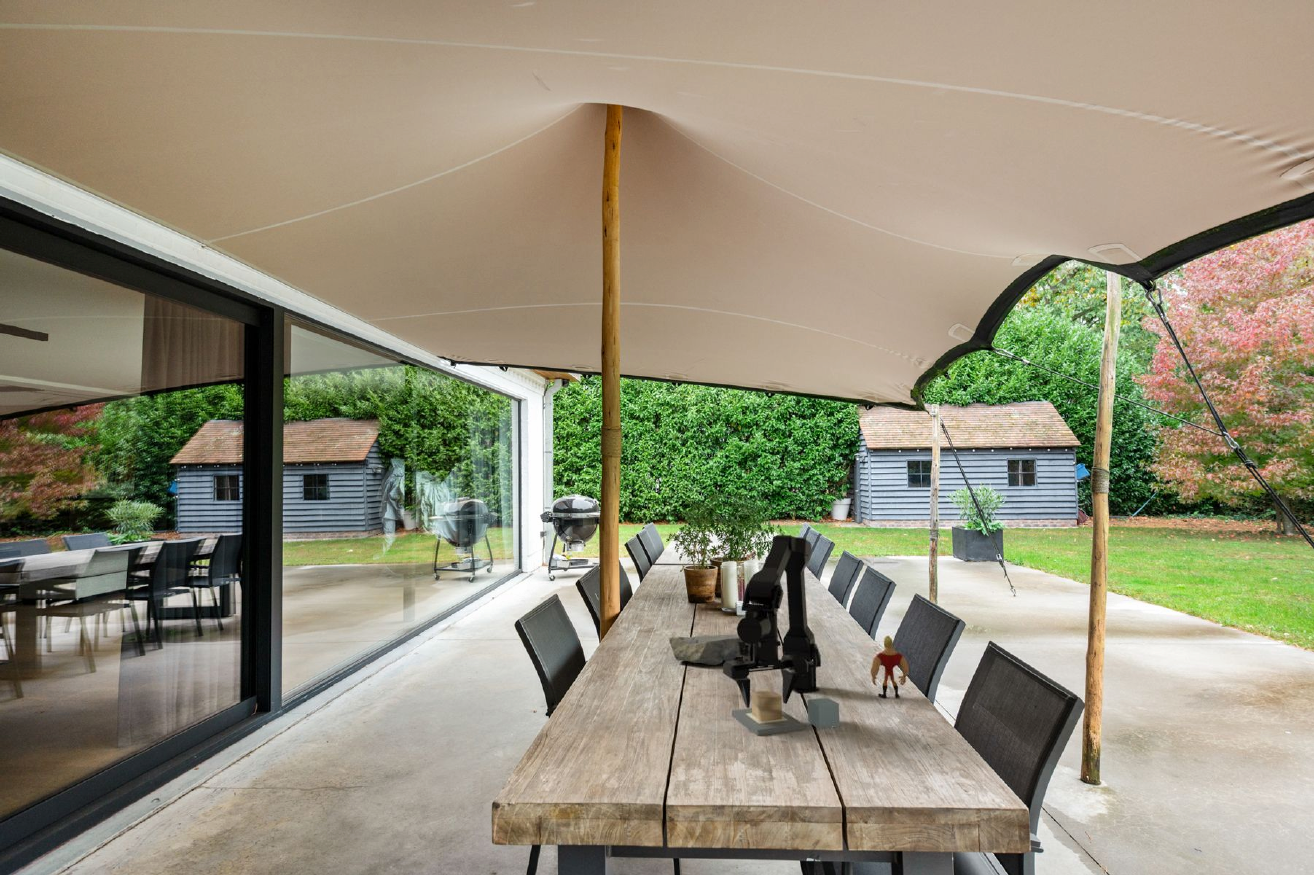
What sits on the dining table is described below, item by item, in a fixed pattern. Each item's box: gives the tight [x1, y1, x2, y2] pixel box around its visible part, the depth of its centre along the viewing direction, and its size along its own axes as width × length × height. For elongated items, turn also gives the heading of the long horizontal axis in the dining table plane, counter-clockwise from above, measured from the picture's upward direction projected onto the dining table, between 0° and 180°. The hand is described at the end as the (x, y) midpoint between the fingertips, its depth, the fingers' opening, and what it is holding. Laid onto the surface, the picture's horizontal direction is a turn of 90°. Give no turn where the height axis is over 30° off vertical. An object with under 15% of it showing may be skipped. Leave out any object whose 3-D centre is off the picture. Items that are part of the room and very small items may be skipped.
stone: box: [668, 633, 749, 666], centre depth 226 cm, size 24×8×25 cm
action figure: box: [870, 635, 910, 699], centre depth 184 cm, size 10×4×15 cm, turn 91°
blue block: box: [806, 697, 840, 730], centre depth 164 cm, size 5×5×5 cm
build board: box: [731, 707, 805, 736], centre depth 165 cm, size 11×14×1 cm
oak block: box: [751, 689, 783, 721], centre depth 165 cm, size 5×5×5 cm
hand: (766, 705), depth 165 cm, fingers open, 9 cm apart
